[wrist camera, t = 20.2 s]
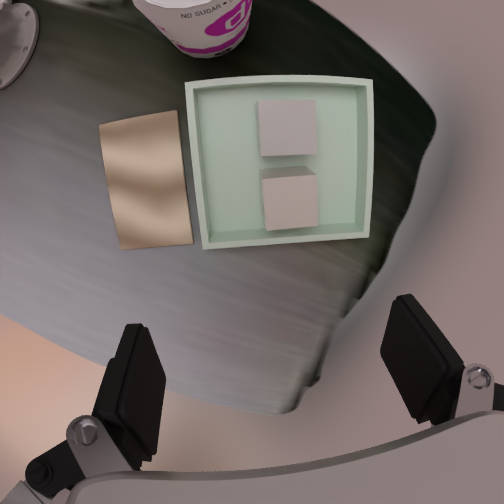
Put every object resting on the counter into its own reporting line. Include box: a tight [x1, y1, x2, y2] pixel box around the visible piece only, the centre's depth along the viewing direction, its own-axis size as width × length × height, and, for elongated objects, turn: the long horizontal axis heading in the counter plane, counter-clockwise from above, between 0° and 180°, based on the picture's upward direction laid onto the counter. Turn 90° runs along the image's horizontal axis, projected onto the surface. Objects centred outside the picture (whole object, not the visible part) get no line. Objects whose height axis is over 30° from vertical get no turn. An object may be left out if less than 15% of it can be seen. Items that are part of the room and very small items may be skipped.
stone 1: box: [255, 100, 317, 156], centre depth 27 cm, size 5×5×5 cm
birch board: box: [99, 110, 194, 250], centre depth 31 cm, size 15×9×1 cm, turn 4°
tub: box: [185, 75, 374, 250], centre depth 30 cm, size 17×18×4 cm
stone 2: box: [258, 166, 318, 231], centre depth 30 cm, size 5×5×5 cm
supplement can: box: [133, 0, 252, 58], centre depth 18 cm, size 8×8×15 cm
